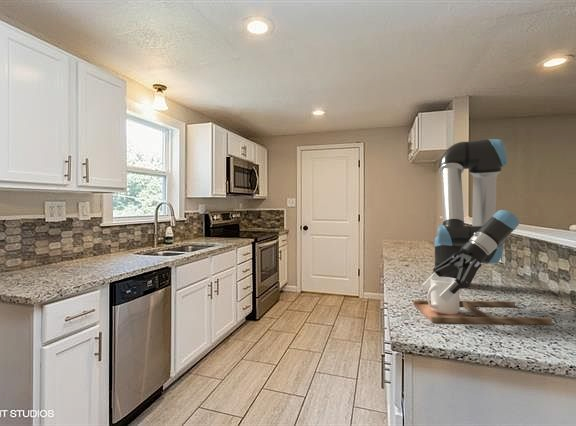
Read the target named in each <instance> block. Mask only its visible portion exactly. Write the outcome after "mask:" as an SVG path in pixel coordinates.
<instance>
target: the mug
mask: <svg viewBox="0 0 576 426" xmlns="http://www.w3.org/2000/svg"><path fill="white" fill-rule="evenodd" d="M453 281H455V278H450V277H432V278H431V287H430V289H429V290H428V292H427V300H428V304H429V306H430V307H431V308H432V310H433V311H434V312H437V313H440V314H447V315H453V314H457V313H458V312H460V306H459V301H460V289H459V290H458V291H457V292H456V293H455V294H454V295H453V296H452V297H451V298H450V299H449V300H448V301H447V302H445V301H444V300H443V299H442V298H441V297H440V296H439V295H440V294H441V293H442V292H443V291H444V290H445V289H446V288H447V287H448V286H449V285H450V284H451V283H452V282H453ZM455 282H456V281H455ZM456 283H457V282H456ZM429 300H431V303H430V301H429Z"/></svg>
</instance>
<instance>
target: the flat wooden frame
mask: <svg viewBox="0 0 576 426" xmlns="http://www.w3.org/2000/svg"><path fill="white" fill-rule="evenodd" d="M412 301H413V302H412V303H413V304H412V305H413V306H414V307H415V308H417V310H418V311H420V312H421V314H423V316H425V317H426V318H427V320H429V321H430V322H431V324H432V323H433V324H438V323H439V324H440V323H441V324H486V325H487V324H494V325H498V324H500V325H501V324H502V325H552V324H553V319H552V318H551V317H525V316H524V317H522V316H521V317H515V316H513V317H511V316H510V317H509V316H506V317H505V316H490V315H489V314H487V313H485V312H484V311H482V310H480V309H478V308H477V307H497V308H498V307H505V308H507V307H510V308H514V307H516V301H513V300H510V301H509V300H508V301H506V300H498V301H497V300H459V307H463V308H465V309H466V310H467V311H468V312H471V313H472V314H474V315H475V316H466V315H464V314H463V313H461V312H460V311H459V312H458V313H457V314H453V315H447V314H440V313H437V312H434V311H433V310H432V308H431V307H430V306H429V304H428V299H425V300H424V299H423V300H422V299H420V300H419V299H415V300H412ZM429 301H430V303H431V299H429Z"/></svg>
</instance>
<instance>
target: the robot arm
mask: <svg viewBox="0 0 576 426" xmlns="http://www.w3.org/2000/svg"><path fill="white" fill-rule="evenodd" d="M507 159H508V158H507V150H506V147H505V144H504V141H503V140H501V139H498V138H497V139H496V138H493V139H491V138H489V139H479V140H469V141H468V140H467V141H459V142H456V143H453V144H452V145H450V147H448V148H447V149H446V150H445V151H444V153H443V154H442V155H441V158H440V160H439V163H438V169H437V170H438V174H439V175H440V178H441V215H442V218H441V219H442V225H438V226H437V236H436V237H435V238H434V244H433V247H434V267H433V268H432V273H431V275H430V276H429V277H428V278H427V279H426V280H425V281H424V282H423V283H422V284H421V286H422V287H423V288H424V289H425V290H426V292H427V291H429V289H430V287H431V278H432V277H450V278H455V281H456V282H457V283H456V282H455V281H453V282H452V283H451V284H450V285H449V286H448V287H447V288H446V289H445V290H444V291H443V292H442V293H441V294H440V295H439V296H440V297H441V298H442V299H443V300H444V301H445V302H447V301H448V300H449V299H450V298H451V297H452V296H453V295H454V294H455V293H456V292H457V291H458V290H459V291H460V289H461V288H466V289H467V288H469V287H470V285H471V284H472V281H473V280H474V277H476V274H477V272H478V270H479V269H480V268H481V267H482V264H486V265H487V264H498V263H499V262H500V261H501V259H502V256H503V252H504V243H505V242H506V240H507V239H508V237H509V236H510V235H511V234H512V233H513V231H515V230H516V228H518V226H519V225H520V219H519V217H517V216H516V214H514V213H512V212H510V211H508V210H506V209H499V210H497V209H496V207H497V205H496V203H497V180H498V179H497V177H498V175H499V174H500V173H501V172H502V168H505V167H506V166H507V161H508V160H507ZM464 170H468V172H469V174H470V175H471V176H472V211H471V212H472V215H471V218H472V219H471V220H472V223H471V225H465V213H464V197H463V196H464V195H463V184H462V183H463V180H462V174H463V173H464ZM496 210H497V211H496Z"/></svg>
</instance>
